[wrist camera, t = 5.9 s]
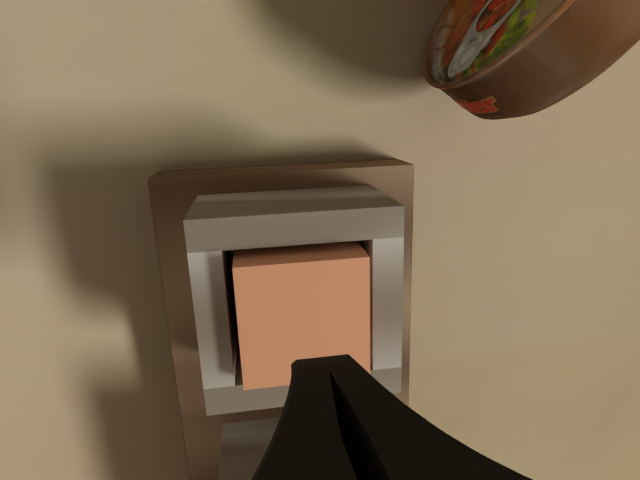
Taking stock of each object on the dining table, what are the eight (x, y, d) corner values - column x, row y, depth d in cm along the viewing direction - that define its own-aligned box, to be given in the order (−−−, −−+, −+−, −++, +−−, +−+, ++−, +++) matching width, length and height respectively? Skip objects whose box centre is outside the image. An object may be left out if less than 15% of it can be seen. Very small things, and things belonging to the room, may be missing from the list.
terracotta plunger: (345, 320, 18) (370, 375, 15) (244, 330, 18) (243, 390, 14) (343, 224, 17) (369, 256, 14) (236, 231, 17) (232, 267, 13)
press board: (393, 494, 25) (436, 610, 19) (204, 523, 24) (190, 655, 18) (398, 159, 20) (458, 180, 14) (158, 171, 18) (116, 200, 13)
